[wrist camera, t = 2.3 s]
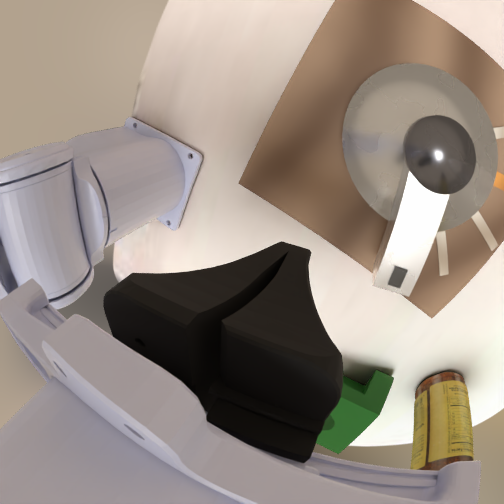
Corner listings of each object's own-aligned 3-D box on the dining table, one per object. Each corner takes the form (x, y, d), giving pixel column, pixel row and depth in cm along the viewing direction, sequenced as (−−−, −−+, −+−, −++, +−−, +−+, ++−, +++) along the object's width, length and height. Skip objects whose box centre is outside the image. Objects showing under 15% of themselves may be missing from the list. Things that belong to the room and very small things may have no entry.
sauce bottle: (429, 407, 22) (403, 560, 6) (404, 386, 23) (366, 564, 7) (475, 382, 19) (467, 550, 3) (455, 357, 19) (443, 558, 3)
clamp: (351, 341, 28) (330, 372, 21) (396, 361, 25) (389, 400, 18) (310, 414, 30) (280, 452, 23) (348, 433, 27) (326, 476, 20)
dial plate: (247, 178, 20) (237, 183, 19) (354, -18, 10) (352, -29, 8) (429, 307, 18) (432, 320, 17) (550, 138, 8) (561, 141, 6)
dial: (353, 48, 11) (348, 24, 8) (501, 103, 8) (535, 101, 5) (320, 242, 18) (306, 275, 14) (448, 282, 15) (462, 322, 11)
